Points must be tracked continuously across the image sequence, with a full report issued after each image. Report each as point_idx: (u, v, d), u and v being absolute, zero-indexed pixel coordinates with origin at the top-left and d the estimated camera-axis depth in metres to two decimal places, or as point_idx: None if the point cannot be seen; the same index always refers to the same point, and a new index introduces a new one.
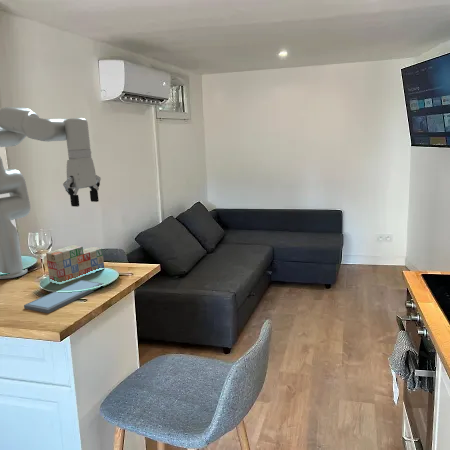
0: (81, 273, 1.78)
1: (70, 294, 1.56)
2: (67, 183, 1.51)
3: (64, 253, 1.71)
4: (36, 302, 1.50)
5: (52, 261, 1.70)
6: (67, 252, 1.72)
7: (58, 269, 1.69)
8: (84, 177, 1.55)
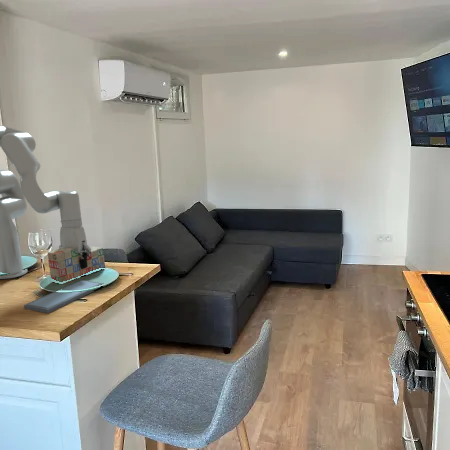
0: (82, 272, 1.78)
1: (70, 294, 1.56)
2: None
3: (66, 252, 1.71)
4: (36, 302, 1.50)
5: (54, 260, 1.70)
6: (69, 251, 1.72)
7: (60, 268, 1.70)
8: None
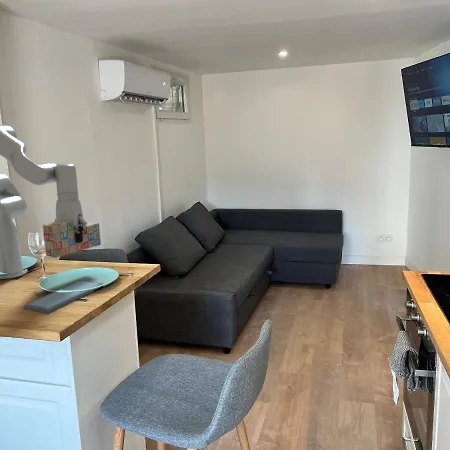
0: (78, 247, 1.76)
1: (70, 294, 1.56)
2: None
3: (61, 225, 1.69)
4: (36, 302, 1.50)
5: (49, 233, 1.68)
6: (64, 224, 1.70)
7: (55, 241, 1.67)
8: None
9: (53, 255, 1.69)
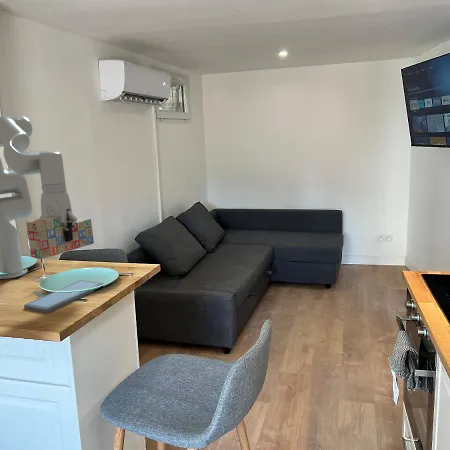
0: (67, 246, 1.55)
1: (70, 294, 1.56)
2: None
3: (47, 222, 1.47)
4: (36, 302, 1.50)
5: (33, 231, 1.46)
6: (51, 221, 1.48)
7: (41, 240, 1.46)
8: None
9: (39, 256, 1.48)
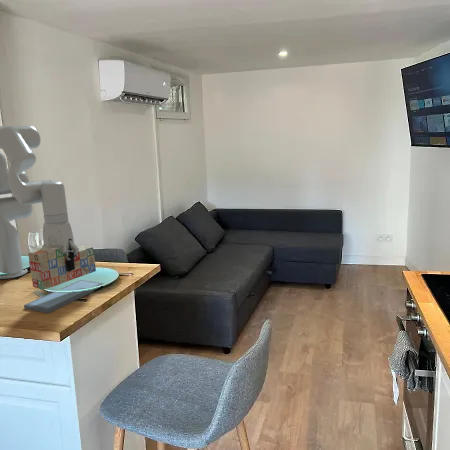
0: (69, 275, 1.54)
1: (70, 294, 1.56)
2: None
3: (49, 252, 1.47)
4: (36, 302, 1.50)
5: (35, 262, 1.46)
6: (53, 251, 1.48)
7: (42, 271, 1.46)
8: None
9: (41, 287, 1.47)
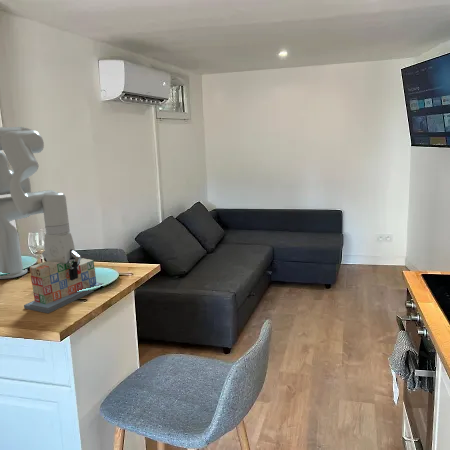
0: (70, 289, 1.56)
1: (70, 294, 1.56)
2: None
3: (51, 267, 1.49)
4: (36, 302, 1.50)
5: (37, 276, 1.47)
6: (54, 266, 1.50)
7: (44, 286, 1.47)
8: None
9: (42, 301, 1.49)
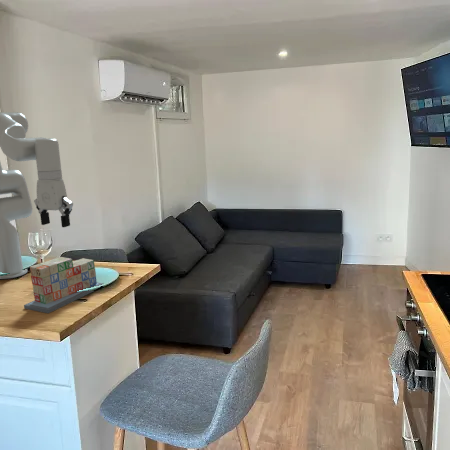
0: (71, 289, 1.56)
1: (70, 294, 1.56)
2: None
3: (51, 267, 1.49)
4: (36, 302, 1.50)
5: (37, 276, 1.48)
6: (54, 266, 1.50)
7: (44, 285, 1.47)
8: None
9: (43, 301, 1.49)
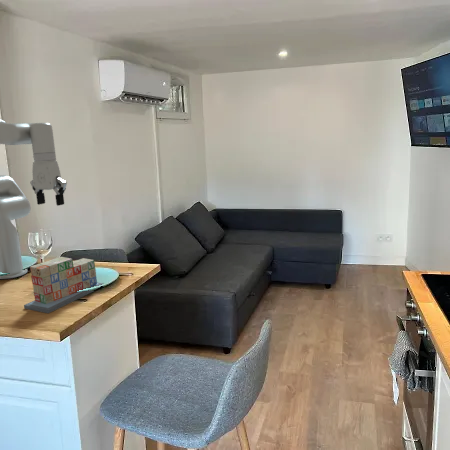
0: (71, 289, 1.56)
1: (70, 294, 1.56)
2: None
3: (51, 267, 1.49)
4: (36, 302, 1.50)
5: (37, 276, 1.48)
6: (55, 265, 1.50)
7: (44, 285, 1.47)
8: None
9: (43, 301, 1.49)
